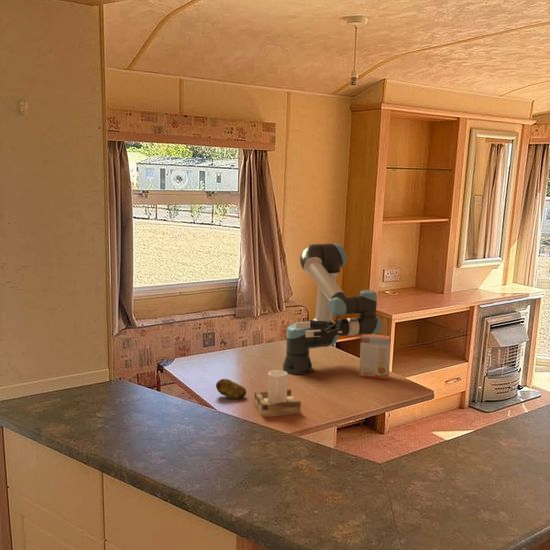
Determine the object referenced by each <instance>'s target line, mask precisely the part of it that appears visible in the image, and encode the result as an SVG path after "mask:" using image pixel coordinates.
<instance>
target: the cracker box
mask: <svg viewBox="0 0 550 550" xmlns="http://www.w3.org/2000/svg"><path fill="white" fill-rule="evenodd" d="M391 337H392V336H391V335H384V334H362V335H361V336H360V344H359V345H360V349H359V370H358V371H359V373H358V374H359V377H360V376H361V377H363V378H370V379H378V380H385V379H386V380H387V381H388V379H389V377H390V363H391V362H390V361H391ZM361 377H360V378H361Z"/></svg>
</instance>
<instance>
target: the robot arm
mask: <svg viewBox="0 0 550 550" xmlns="http://www.w3.org/2000/svg"><path fill="white" fill-rule="evenodd" d="M301 251H302V252H301V254H300V257H299V263H300V266H301V268H302V270H303V271H304V273H305V274H307V275H309V276H310V277H311V278H312V280H313V282H314V283H315V284H316V286H317V294H316V305H315V306H316V307H315V317H314V318H313V319H310V320H309V321H299V322H298V321H297V322H295V323H292V324H290V325H288V327H287V328H286V335H285V337H286V347H285V349H286V353H285V354H286V355H285V356H284V360H283V363H282V370H283V371H286V372H287V374H290V375H291V374H292V375H307V374H309V373H311V372H313V363H312V360H311V356H310V350H311V349H319V348H328V347H331V346H333V345H336V342H337V341H338V338H339V337H344V336H346V337H347V336H351V337H354V336H357V335H359V336H360V335H361V336H362V334H374V335H377V334H379V333H380V332H381V331H382V328H383V327H382V320H381V318H380V317H378V316H377V305H378V293H377V292H376V291H374V290H370V289H364V290H363V289H362V290H361V291H360V292H359V295H358V296H357V295H356V296H355V295H354V296H347V295H346V293H344V291H343V289H342V288H341V287H340V286H339V285H338V283H337V276H338V274H339V273H341V268H343V267H345V265H346V263H347V254H346V253H347V252H346V250H345V248H344V247H343V246H342V245H341V244H339V243H333V242H332V243H320V244H319V243H316V244H310V245H307V246H305V248H304V249H303V250H301ZM357 314H358V317H348V318H338V319H337V320H336V322H335V320H333V316H346V315H357Z"/></svg>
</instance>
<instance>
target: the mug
mask: <svg viewBox="0 0 550 550" xmlns="http://www.w3.org/2000/svg"><path fill="white" fill-rule="evenodd" d="M267 381H268V382H267V391H268V398H267V400H268V401H269V402H270V403H280V402H287V389H288V373H287V372H286V371H283V369H272V370H270V371H268V376H267Z"/></svg>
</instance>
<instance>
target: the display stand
mask: <svg viewBox="0 0 550 550" xmlns="http://www.w3.org/2000/svg"><path fill="white" fill-rule="evenodd" d="M267 398H268V390H262V391H254V404H255V406H256V408H257V410H258V411H259V412H260V415H261V417H262V418H268V417H278V416H289V415H297V414H301V411H302V410H301V407H302V406H301V405H302V403H301V400H296V398H294V396H293V395H292V389H291V388H287V402H280V403H270V402H269V401H268V400H267Z"/></svg>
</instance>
